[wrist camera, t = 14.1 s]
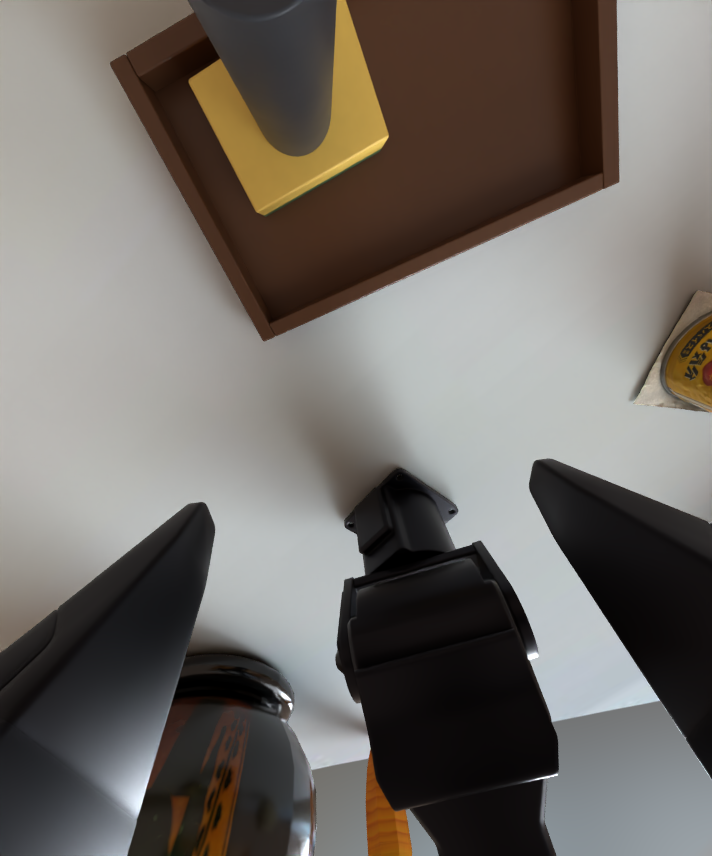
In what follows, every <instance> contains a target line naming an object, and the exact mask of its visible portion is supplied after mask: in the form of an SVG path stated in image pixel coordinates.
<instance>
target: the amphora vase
mask: <svg viewBox="0 0 712 856" xmlns="http://www.w3.org/2000/svg"><path fill="white" fill-rule="evenodd" d="M293 710H294V693H293V690H292V688H291V686H290V684H289V682H288V681H287V680H286V679H285V678H284V677H283V676H282V675H281V674H280V673H279V672H278V671H277V670H275V669H273V668H271V667H269V666H268V665H266V664H264V663H261V662H258V661H255V660H252V659H248V658H245V657H241V656H233V655H226V654H203V655H197V656H191V657H185V659H184V662H183V666H182V669H181V672H180V676H179V679H178V683H177V686H176V689H175V693H174V696H173V700H172V703H171V706H170V710H169V713H168V717H167V720H166V724H165V727H164V730H163V734H162V737H161V741H160V744H159V747H158V751H157V754H156V758H155V761H154V764H153V768H152V771H151V775H150V778H149V782H148V785H147V788H146V792H145V795H144V799H143V802H142V805H141V809H140V812H139V816H138V818H137V819H136V820H137V824H136V827H135V830H134V834H133V837H132V841H131V844H130V847H129V851H128V854H127V856H314V850H315V841H316V833H317V832H316V789H315V785H314V781H313V776H312V773H311V768H310V764H309V762H308V760H307V758H306V756H305V754H304V751H303V749H302V747H301V745H300V743H299V741H298V739H297V737H296V735H295V733H294V732H293V730H292V729H291V727H290V726H289V725H288V723H287V721H288V720H289V718H290V716H291V714H292V712H293Z"/></svg>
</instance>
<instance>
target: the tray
mask: <svg viewBox="0 0 712 856" xmlns="http://www.w3.org/2000/svg"><path fill="white" fill-rule="evenodd" d="M346 3H347V6H348V9H349V12H350V15H351V18H352V21H353V25H354V28H355V31H356V34H357V37H358V40H359V43H360V46H361V49H362V53H363V56H364V59H365V62H366V65H367V68H368V71H369V74H370V77H371V81H372V84H373V87H374V90H375V93H376V96H377V99H378V102H379V105H380V109H381V112H382V115H383V118H384V121H385V124H386V127H387V130H388V133H389V137H388V139H387V140H386V142H385V144H384V145H383V147H382V149H381V151H380V152H379V153H377V154H375V155H373V156H372V157H370V158H368V159H366V160H365V161H363V162H361V163H359V164H358V165H356V166H354V167H352V168H351V169H349V170H347V171H345V172H344V173H342V174H340V175H338V176H337V177H335V178H333V179H331V180H330V181H328V182H326V183H324V184H323V185H321V186H319V187H317V188H316V189H314V190H312V191H310V192H309V193H307V194H305V195H303V196H302V197H300V198H298V199H296V200H295V201H293V202H291V203H289V204H288V205H286V206H284V207H282V208H281V209H279V210H277V211H275V212H274V213H272V214H270V215H268V216H267V217H265V216H263V215H261V214H259V213H257V212H256V211H255V209H254V207H253V205H252V203H251V201H250V200H249V198H248V196H247V194H246V192H245V190H244V188H243V186H242V184H241V182H240V180H239V178H238V177H237V175H236V173H235V171H234V169H233V167H232V165H231V163H230V161H229V159H228V157H227V155H226V154H225V152H224V150H223V148H222V146H221V144H220V142H219V140H218V138H217V136H216V134H215V132H214V131H213V129H212V127H211V125H210V123H209V121H208V119H207V117H206V115H205V113H204V111H203V109H202V108H201V106H200V104H199V102H198V100H197V98H196V96H195V94H194V92H193V90H192V88H191V86H190V85H189V79H190V78H192V77H193V76H195V75H196V74H198V73H199V72H201V71H202V70H204V69H205V68H207V67H208V66H210V65H211V64H213V63H214V62H216V61H217V60H219V59H220V57H219V55H218V53H217V52H216V50H215V48H214V46H213V44H212V43H211V41H210V39H209V37H208V36H207V34H206V32H205V30H204V28H203V27H202V25H201V23H200V21H199V20H198V18H197V16H196V14H195V12H194V13H193V14H191V15H189V16H187V17H186V18H184V19H182V20H181V21H179V22H177V23H176V24H174V25H172V26H171V27H169V28H167V29H166V30H164V31H162V32H161V33H159V34H157V35H155V36H154V37H152V38H150V39H149V40H147V41H145V42H144V43H142V44H140V45H139V46H137V47H135V48H134V49H132V50H130V51H128V52H127V53H126V54H127V56H126V55H122V56H120V57H118V58H117V59H115V60H113V61H112V62H110V65H111V67H112V69H113V71H114V73H115V75H116V76H117V78H118V80H119V82H120V84H121V86H122V87H123V89H124V91H125V93H126V95H127V96H128V98H129V100H130V102H131V104H132V105H133V107H134V109H135V111H136V113H137V114H138V116H139V118H140V120H141V122H142V123H143V125H144V127H145V129H146V131H147V132H148V134H149V136H150V138H151V140H152V141H153V143H154V145H155V147H156V149H157V150H158V152H159V154H160V156H161V158H162V159H163V161H164V163H165V165H166V167H167V168H168V170H169V172H170V174H171V176H172V178H173V179H174V181H175V183H176V185H177V187H178V188H179V190H180V192H181V194H182V196H183V197H184V199H185V201H186V203H187V205H188V206H189V208H190V210H191V212H192V214H193V215H194V217H195V219H196V221H197V223H198V224H199V226H200V228H201V230H202V232H203V233H204V235H205V237H206V239H207V241H208V242H209V244H210V246H211V248H212V250H213V251H214V253H215V255H216V257H217V259H218V261H219V262H220V264H221V266H222V268H223V270H224V271H225V273H226V275H227V277H228V279H229V280H230V282H231V284H232V286H233V288H234V289H235V291H236V293H237V295H238V297H239V298H240V300H241V302H242V304H243V306H244V307H245V309H246V311H247V313H248V315H249V316H250V318H251V320H252V322H253V324H254V325H255V327H256V329H257V331H258V333H259V334H260V336H261V338H262V340H263V341H267V340H269V339H272V338H274V337H275V336H278V335H280V334H283V333H285V332H287V331H289V330H292V329H294V328H296V327H298V326H300V325H303V324H305V323H307V322H309V321H312V320H314V319H316V318H318V317H320V316H323V315H325V314H327V313H329V312H332V311H334V310H336V309H338V308H340V307H343V306H345V305H347V304H349V303H351V302H354V301H356V300H358V299H360V298H363V297H365V296H367V295H369V294H371V293H374V292H376V291H378V290H380V289H383V288H385V287H387V286H389V285H391V284H394V283H396V282H398V281H400V280H403V279H405V278H407V277H409V276H411V275H414V274H416V273H418V272H420V271H423V270H425V269H427V268H429V267H431V266H434V265H436V264H438V263H440V262H443V261H445V260H447V259H449V258H451V257H454V256H456V255H458V254H460V253H463V252H465V251H467V250H469V249H471V248H474V247H476V246H478V245H480V244H482V243H485V242H487V241H489V240H491V239H494V238H496V237H498V236H500V235H502V234H505V233H507V232H509V231H511V230H514V229H516V228H518V227H520V226H522V225H525V224H527V223H529V222H531V221H534V220H536V219H538V218H540V217H542V216H545V215H547V214H549V213H551V212H554V211H556V210H558V209H560V208H562V207H565V206H567V205H569V204H571V203H574V202H576V201H578V200H580V199H582V198H585V197H587V196H589V195H591V194H594V193H596V192H598V191H600V190H602V189H605V188H607V187H609V186H612V185H614V184H616V183H618V182H619V132H618V66H617V0H346Z"/></svg>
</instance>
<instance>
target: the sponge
mask: <svg viewBox="0 0 712 856" xmlns="http://www.w3.org/2000/svg"><path fill="white" fill-rule="evenodd" d="M188 2H189V4H190V5H191V7H192V9H193V11H194V12H195V14H196V16H197V18H198V20H199V21H200V23H201V25H202V27H203V28H204V30H205V32H206V34H207V36H208V37H209V39H210V41H211V43H212V44H213V46H214V48H215V50H216V52H217V53H218V55H219V57H220V59H219V60H217V61H216V62H214V63H213V64H211V65H210V66H208V67H207V68H205V69H204V70H202V71H201V72H199V73H198V74H196V75H195V76H193V77H192V78H190V79H189V85H190V86H191V88H192V90H193V92H194V94H195V96H196V98H197V100H198V102H199V104H200V106H201V108H202V109H203V111H204V113H205V115H206V117H207V119H208V121H209V123H210V125H211V127H212V129H213V131H214V132H215V134H216V136H217V138H218V140H219V142H220V144H221V146H222V148H223V150H224V152H225V154H226V155H227V157H228V159H229V161H230V163H231V165H232V167H233V169H234V171H235V173H236V175H237V177H238V178H239V180H240V182H241V184H242V186H243V188H244V190H245V192H246V194H247V196H248V198H249V200H250V201H251V203H252V205H253V207H254V209H255V211H256V212H257V213H259V214H261V215H263V216H265V217H267V216H268V215H270V214H272V213H274V212H275V211H277V210H279V209H281V208H282V207H284V206H286V205H288V204H289V203H291V202H293V201H295V200H296V199H298V198H300V197H302V196H303V195H305V194H307V193H309V192H310V191H312V190H314V189H316V188H317V187H319V186H321V185H323V184H324V183H326V182H328V181H330V180H331V179H333V178H335V177H337V176H338V175H340V174H342V173H344V172H345V171H347V170H349V169H351V168H352V167H354V166H356V165H358V164H359V163H361V162H363V161H365V160H366V159H368V158H370V157H372V156H373V155H375V154H377V153H379V152H380V151H381V149H382V147H383V145H384V144H385V142H386V140H387V139H388V137H389V133H388V130H387V127H386V124H385V121H384V118H383V115H382V112H381V109H380V105H379V102H378V99H377V96H376V93H375V90H374V87H373V84H372V81H371V77H370V74H369V71H368V68H367V65H366V62H365V59H364V56H363V53H362V49H361V46H360V43H359V40H358V37H357V34H356V31H355V28H354V25H353V21H352V18H351V15H350V12H349V9H348V6H347V3H346V0H188Z"/></svg>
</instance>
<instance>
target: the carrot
mask: <svg viewBox="0 0 712 856" xmlns="http://www.w3.org/2000/svg"><path fill="white" fill-rule="evenodd" d="M366 821H367V840H368V856H412V847H411V840H410V834H409V828H408V822H407V816H406V811H405V810H401V811H397V812H396V811H394V810H393V809H392V807H391V806H390V804H389V802H388V801H387V799H386V797H385V795H384V794H383V792H382V790H381V788H380V787H379V785H378V783H377V781H376V777H375V772H374V766H373V759H372V753H371V750H370V755H369V761H368V767H367V783H366Z"/></svg>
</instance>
